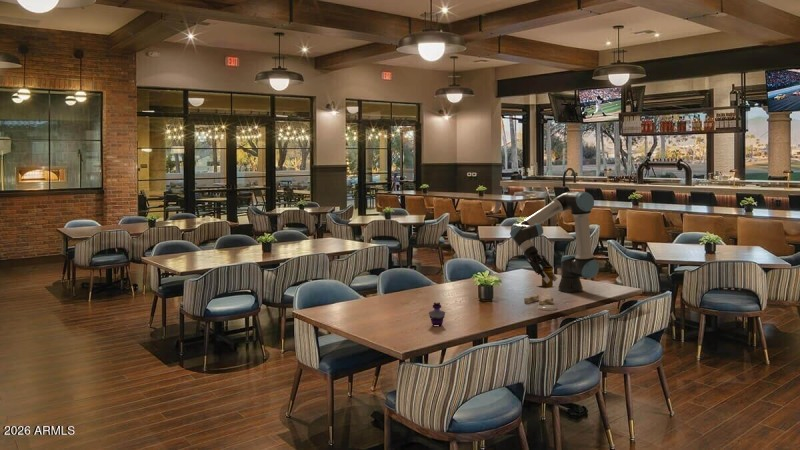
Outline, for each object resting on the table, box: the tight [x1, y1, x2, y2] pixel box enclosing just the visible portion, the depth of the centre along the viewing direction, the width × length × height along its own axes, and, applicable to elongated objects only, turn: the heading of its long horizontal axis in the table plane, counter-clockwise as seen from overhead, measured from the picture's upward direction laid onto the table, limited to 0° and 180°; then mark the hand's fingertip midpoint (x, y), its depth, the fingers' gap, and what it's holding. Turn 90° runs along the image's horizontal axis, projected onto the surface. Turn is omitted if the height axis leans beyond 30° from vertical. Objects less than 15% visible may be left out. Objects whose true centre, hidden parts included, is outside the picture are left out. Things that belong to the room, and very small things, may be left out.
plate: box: [537, 304, 558, 311], centre depth 363 cm, size 11×11×1 cm
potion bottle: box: [428, 301, 446, 326], centre depth 330 cm, size 9×9×12 cm
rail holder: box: [523, 295, 554, 306], centre depth 376 cm, size 12×12×3 cm
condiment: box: [536, 265, 556, 289], centre depth 361 cm, size 7×8×12 cm
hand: (552, 280), depth 359 cm, fingers closed on condiment, 6 cm apart
